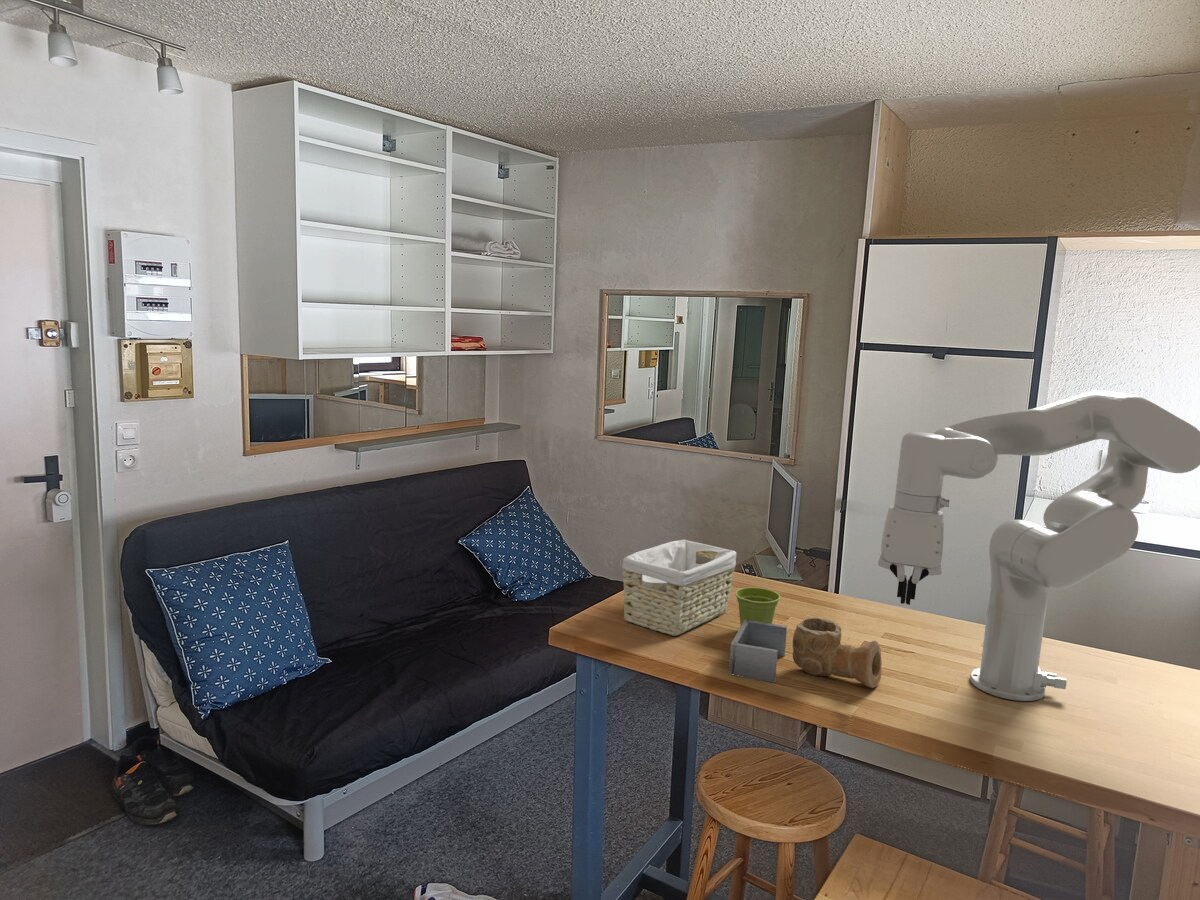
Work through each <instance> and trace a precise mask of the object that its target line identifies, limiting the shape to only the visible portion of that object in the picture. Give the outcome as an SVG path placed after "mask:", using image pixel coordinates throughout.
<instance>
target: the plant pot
mask: <svg viewBox="0 0 1200 900" xmlns="http://www.w3.org/2000/svg"><path fill="white" fill-rule="evenodd" d="M734 595H735V597H736V600H737V603H738V611H739V622H740V624H739V626H740V627H741V625H742V623H743V621H744V620H751V621H757V622H763V623H770V624H773V623H774V616H775V611H776V607H778V604H779V601H780V600H781V594H780V593H778V592H776V591H775V590H772V589H768V588H763V587H757V586H756V587H752V586H751V587H750V586H748V587H741V588H739V589H737V590H735V593H734Z"/></svg>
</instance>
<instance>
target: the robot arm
mask: <svg viewBox="0 0 1200 900" xmlns="http://www.w3.org/2000/svg"><path fill="white" fill-rule="evenodd" d="M1096 440H1104V441H1105V440H1106V441H1108V446H1107V455H1106V458H1105V462H1104V464H1103V466H1102V467H1101V468H1100V470H1098V472H1097V473H1096V474H1094V475H1092V476H1091V477H1090V478H1089V479H1087V480H1085V481H1083V482H1082V483H1080V484H1078V485H1077V486H1075V487H1073V488H1072V489H1070V490H1069V491H1066V492H1065V493H1064V494H1062V495H1060V496H1058V497H1056V499H1053V500H1052V502H1050V503H1049V504H1048V505H1047V507H1046V508H1045V509H1044V510H1045V511H1044V513H1043V517H1042V518H1043V519H1042V520H1043V523H1044V526H1042V525H1041V524H1037V523H1035V522H1032V521H1029V520H1024V519H1011V520H1008V521H1005V522H1002V523H1001V524H1000V525H998V526H997V527H996V528H995V529H994V531H993V533H992V535H991V537H990V541H989V545H988V546H989V548H988V549H989V550H988V551H989V552H988V553H989V564H990V565H989V566H990V580H989V581H990V583H989V584H990V585H989V595H988V602H987V611H986V617H985V618H986V619H985V626H984V627H985V628H984V637H983V642H982V643H983V644H982V653H981V659H980V660H981V662H980V667H977V668H974V669H972V670H971V671H970V674H969V675H970V676H969V679H970V682H971V683H972V684H973V686H974V687H976V688H977V689H979V690H980V691H981V692H985V693H987V694H989V695H991V696H994V697H998V698H1001V699H1004V700H1005V699H1006V700H1012V701H1019V702H1031V701H1033V702H1034V701H1037V700H1041V699H1042V698H1043V697H1044V696H1045V694H1046V688H1047V687H1051V688H1054V689H1061V690H1066V688H1067V679H1066V678H1063V677H1057V673H1054V672H1046V671H1043V670H1042V669H1041V668H1040V658H1041V651H1042V643H1043V635H1044V628H1045V621H1046V615H1047V614H1046V613H1047V605H1048V604H1047V603H1048V590H1047V589H1052V590H1063V589H1067V588H1070V587H1072V586H1074V585H1077V584H1078V583H1080V582H1082V581H1084V580H1086V579H1087V578H1089V577H1090V576H1092V575H1093V574H1095V573H1097V572H1099V571H1101V570H1102V569H1103V568H1105V567H1106V566H1109V564H1111V563H1113V562H1114V561H1117V560H1118V559H1119V558H1120V557H1122V556H1123V555H1125V554H1126V553H1127V552H1128V551H1129V550H1130V549H1131V548H1132V546H1133V545H1134V544H1135V542H1136V540H1137V537H1138V534H1139V521H1138V519H1137V516H1136V515H1135V514H1134V512H1133V510H1134V509H1135V508H1136V507H1137V506H1138V505H1140V503H1141V502H1142V501H1143V499H1144V496H1145V493H1146V489H1147V483H1148V482H1147V481H1148V473H1149V468H1150V469H1153V470H1157V471H1161V472H1167V473H1173V474H1184V473H1189V472H1192V471H1194V470H1196V469H1197V468H1198V467H1200V430H1199V429H1198V427H1195V426H1194V425H1192V424H1191V423H1189V422H1187V421H1186V420H1184V419H1182V418H1181V417H1179V416H1177V415H1175V414H1173V413H1171V412H1170V411H1168V410H1167V409H1165V408H1163V407H1161V406H1159V405H1158V404H1157V403H1156V404H1155V403H1154V402H1152V401H1151V400H1149V399H1147V398H1144V397H1142V396H1139V395H1137V394H1131V393H1124V392H1115V391H1109V390H1091V391H1088V392H1087V391H1086V392H1083V393H1080V394H1076V395H1073V396H1070V397H1067V398H1063V399H1060V400H1057V401H1053V402H1050V403H1047V404H1044V405H1040V406H1037V407H1033V408H1029V409H1024V410H1018V411H1011V412H1006V413H1000V414H994V415H987V416H981V417H975V418H972V419H968V420H964V421H961V422H957V423H954V424H951V425H948V426H943V427H942V428H939V429H937V430H936V431H934V432H933V433H932V432H926V431H911V432H907V433H905V434H903V436H902V437H901V442H900V443H901V444H900V449H899V450H900V452H899V459H898V460H899V461H898V468H897V478H896V486H895V495H894V501H893V502H894V503H893V504H891V505H889V507H888V510H887V514H886V517H885V521H884V526H883V534H882V538H881V547H880V555H879V556H880V557H879V558H878V561H877V565H878V566H879V567H881V568H883V569H886V570H888V571H890V572H891V573H892V574H893V575H894V577H896V578H897V581H898V584H897V593H896V597H897V598H900V604H902V605H904V604H906V605H907V606H908V605H909V606H910V605H911V600H914V601H915V600H916V599H915V598H916V591H917V585H918V584H919V582H920V581H922V580H923V579H924V578H926V577H928V576H930V577H931V576H939V575H942V566H941V565H942V559H943V550H944V534H945V527H944V526H945V520H944V519H945V518H944V512H943V511H941V510H940V509H942V508H949V507H950V499H946V498H944V497H943V496H942V490H943V483H944V476H950V477H956V478H960V479H961V478H962V479H967V480H977V479H980V478H985V477H986V476H988V475H990V474H991V473H992V472H993V471H994V469H995V468H996V467H997V464H998V460H999V459H998V456H999V455H1008V456H1009V455H1011V456H1025V457H1026V456H1027V457H1028V456H1029V457H1031V456H1032V457H1033V456H1047V455H1050V454H1054V453H1057V452H1060V451H1062V450H1066V449H1070V448H1072V447H1075V446H1079V445H1082V444H1086V443H1089V442H1092V441H1096ZM905 566H906V567H912V568H913V570H912V573H911V575H910V576H909V578H908V579H907V575H906V574H905V573H906V572H905Z"/></svg>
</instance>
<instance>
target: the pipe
mask: <svg viewBox="0 0 1200 900" xmlns="http://www.w3.org/2000/svg"><path fill="white" fill-rule="evenodd" d="M841 640H842V627H841V625H840V624H838V623H837V622H835V621H834V620H831V619H828V618H823V617H807V618H804V619H803V620H802V621H801V622H800V623H798V624H797V625H796V628H795V630H794V633H793V637H792V659H793V662H794V664H795V665H797V667H799V668H801V669H802V670H803V671H804V672H805V673H807V674H810V675H813V676H816V677H817V676H818V677H819V676H822V677H823V676H825V677H826V676H827V677H828V676H832V675H833V676H836V677H840V678H846V679H855V680H856V681H857V682H859V683H861V684H863V685H865V686H867V687H868V688H871V689H874V688H876V687H877V686H878V685H879V683H880V682H881V679H882V649H881V647H880V644H879V642H878V641H876V640H871V641H870V642H868V643H866V644H864V645H862V646H858V647H857V646H853V645H849V644H841Z"/></svg>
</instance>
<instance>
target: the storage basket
mask: <svg viewBox="0 0 1200 900" xmlns="http://www.w3.org/2000/svg"><path fill="white" fill-rule="evenodd" d="M697 556H699V557H705V558H708V559H709V560H710V561H708V562H705V563H697ZM622 561H623V562H622V568H621V569H622V578H623V579H622V580H623V613H624V614H623V618H624V620H625V621H627V622H628V623H633V624H634V625H638V626H641V627H644V628H649V629H650V630H652V631H657V632H660V633H662V634H667V635H670V636H672V637H673V636H675V637H676V636H679V635H682V634H684V633H685V632H687V631H690V630H691V629H694V628H696V627H698V626H699V625H703V624H704V623H708V622H710V621H711V620H712V619H714V618H716V617H718V616H721V615H722V614H725V613H726V612H727V609H728V603H729V602H728V601H729V599H730V596H731V587H732V581H733V577H734V571H735V569H736V565H737V551H735V550H733V549H727V548H723V547H719V546H714V545H710V544H705V543H701V542H696V541H691V540H688V539H681V540H674V541H673V540H672V541H668V542H666V543H661V544H659V545H656V546H652V547H650V548H647V549H643V550H639V551H637V552H633V553H631V554H629V555H627V556H626V557H624V558H623V559H622Z"/></svg>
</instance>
